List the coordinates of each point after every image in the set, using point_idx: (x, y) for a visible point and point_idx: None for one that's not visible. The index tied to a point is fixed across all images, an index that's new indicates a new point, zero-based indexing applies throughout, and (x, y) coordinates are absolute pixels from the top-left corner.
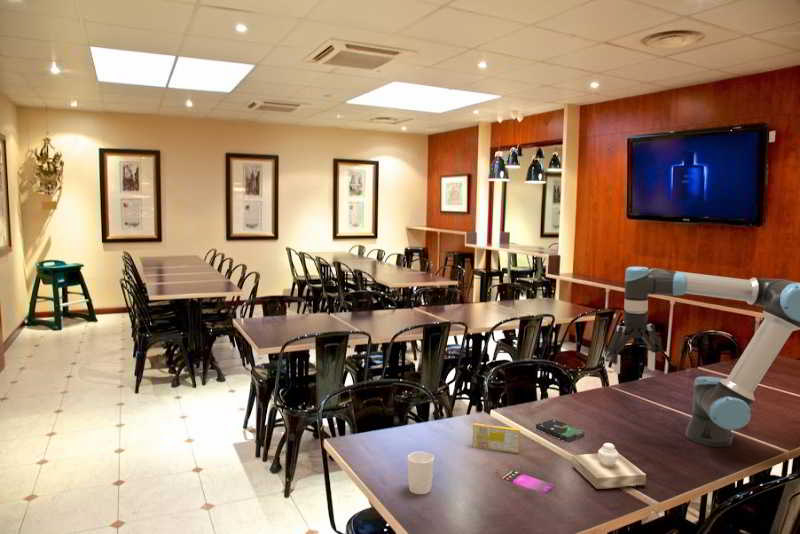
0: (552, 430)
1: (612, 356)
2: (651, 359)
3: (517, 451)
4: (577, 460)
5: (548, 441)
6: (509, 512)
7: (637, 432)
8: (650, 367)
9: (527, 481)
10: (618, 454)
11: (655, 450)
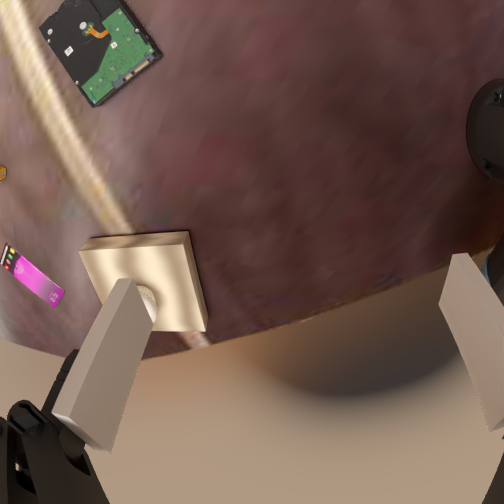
0: (66, 64)
1: (51, 404)
2: (476, 360)
3: (2, 178)
4: (87, 271)
5: (59, 102)
6: (28, 331)
7: (359, 37)
8: (452, 297)
9: (29, 277)
10: (154, 321)
11: (336, 164)
